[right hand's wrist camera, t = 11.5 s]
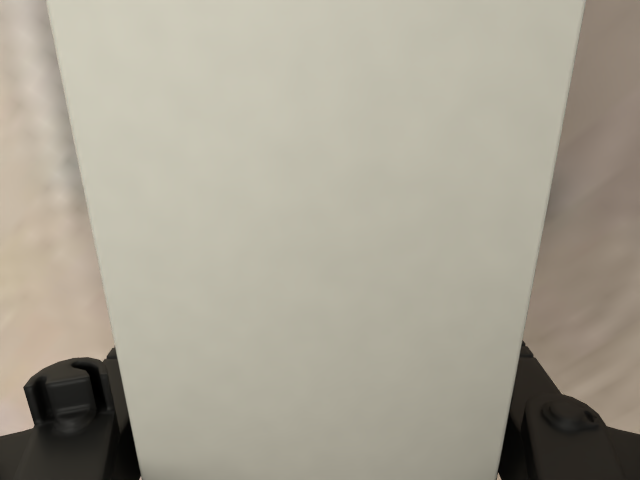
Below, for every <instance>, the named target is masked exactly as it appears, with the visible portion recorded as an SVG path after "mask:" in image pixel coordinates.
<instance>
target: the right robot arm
mask: <svg viewBox="0 0 640 480" xmlns="http://www.w3.org/2000/svg"><path fill="white" fill-rule="evenodd" d="M23 388H24V391H25V395H26V398H27V401H28V405H29V408H30V411H31V415H32V418H33V421H34V428H32V429H29V430H25V431H22V432H17V433H13V434H9V435H4V436H0V480H139V479H140V476H141V473H140V468H139V463H138V458H137V453H136V448H135V443H134V438H133V433H132V428H131V423H130V418H129V413H128V408H127V403H126V398H125V393H124V388H123V383H122V378H121V373H120V368H119V363H118V358H117V353H116V348H112V350H111V351H110V353H109V354H108V355H107V359H104V361H103V362H101V361H100V360H98V359H93V358H89V357H85V358H72V359H68V360H64V361H60V362H57V363H55V364H53V365H50V366H48V367H46V368H44V369H42V370H41V371H39V372H38V373H37V374H35V375H34V376H32V377H31V378H30V379H29V381H28V382H27V383H26V385H25V386H24V387H23ZM498 473H499V475H500V477H501V480H640V434H635V433H631V432H627V431H622V430H618V429H614V428H611V427H608V426H606V425H605V423H604V422H603V420H602V419H601V417H600V416H599V414H598V413H597V412H595V411H594V410H593V409H592V408H590V407H589V406H588V405H587V404H585V403H583V402H581V401H579V400H577V399H575V398H573V397H570V396H566V395H562V394H561V393H560V391H559V390H558V388H557V387H556V386H555V384H554V383H553V381H552V380H551V379H550V377H549V376H548V375H547V373H546V372H545V370H544V369H543V368H542V366H541V365H540V363H539V362H538V361H537V359H536V358H534V357H533V354H532V352H531V351H530V350H529V348H528V347H527V346H525V343H524V341H523V340H522V345H521V350H520V355H519V361H518V366H517V371H516V377H515V382H514V387H513V393H512V398H511V403H510V409H509V414H508V419H507V425H506V430H505V435H504V441H503V446H502V451H501V456H500V462H499V467H498V472H497V475H498ZM496 480H497V478H496Z"/></svg>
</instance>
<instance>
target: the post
mask: <svg viewBox="0 0 640 480" xmlns="http://www.w3.org/2000/svg"><path fill="white" fill-rule="evenodd" d="M585 3H586V0H46V4H47V9H48V14H49V19H50V24H51V29H52V34H53V39H54V44H55V49H56V54H57V59H58V64H59V69H60V74H61V79H62V84H63V89H64V94H65V99H66V104H67V109H68V114H69V119H70V124H71V129H72V134H73V139H74V144H75V149H76V154H77V159H78V164H79V169H80V174H81V179H82V184H83V189H84V194H85V199H86V204H87V209H88V214H89V218H90V223H91V228H92V233H93V238H94V243H95V248H96V253H97V258H98V263H99V268H100V273H101V278H102V283H103V288H104V293H105V298H106V303H107V308H108V313H109V318H110V323H111V328H112V333H113V338H114V343H115V348H116V353H117V358H118V363H119V368H120V373H121V378H122V383H123V388H124V393H125V398H126V403H127V408H128V413H129V418H130V423H131V428H132V433H133V438H134V443H135V448H136V453H137V458H138V463H139V468H140V473H141V478H142V480H496V478H497V472H498V467H499V462H500V456H501V451H502V446H503V441H504V435H505V430H506V425H507V419H508V414H509V409H510V403H511V398H512V393H513V387H514V382H515V377H516V371H517V366H518V361H519V355H520V350H521V345H522V339H523V334H524V329H525V323H526V318H527V313H528V307H529V302H530V297H531V291H532V286H533V281H534V275H535V270H536V265H537V259H538V254H539V249H540V243H541V238H542V233H543V227H544V222H545V217H546V211H547V206H548V201H549V195H550V190H551V185H552V179H553V174H554V169H555V163H556V158H557V153H558V147H559V142H560V137H561V131H562V126H563V121H564V115H565V110H566V105H567V99H568V94H569V89H570V83H571V78H572V73H573V67H574V62H575V57H576V51H577V46H578V41H579V35H580V30H581V25H582V19H583V14H584V9H585Z"/></svg>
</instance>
